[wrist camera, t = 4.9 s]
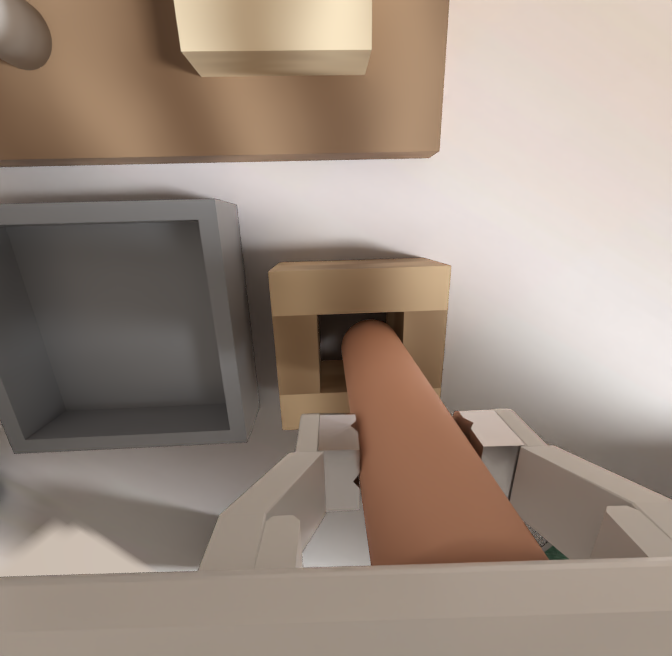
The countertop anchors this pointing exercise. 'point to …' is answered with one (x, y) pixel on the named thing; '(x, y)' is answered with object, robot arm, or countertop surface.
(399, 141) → the board
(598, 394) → the countertop surface
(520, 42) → the countertop surface
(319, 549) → the countertop surface
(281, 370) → the socket block
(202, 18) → the cream rectangular block
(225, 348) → the tray
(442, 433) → the dowel
